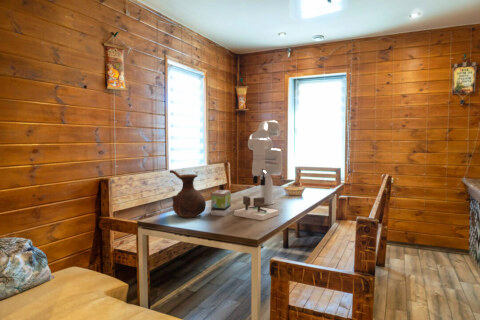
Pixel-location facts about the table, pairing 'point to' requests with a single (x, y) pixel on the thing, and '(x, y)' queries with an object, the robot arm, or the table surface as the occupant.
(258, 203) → the near peg
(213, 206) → the tea box
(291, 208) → the table surface
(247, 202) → the far peg
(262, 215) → the board
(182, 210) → the jug
